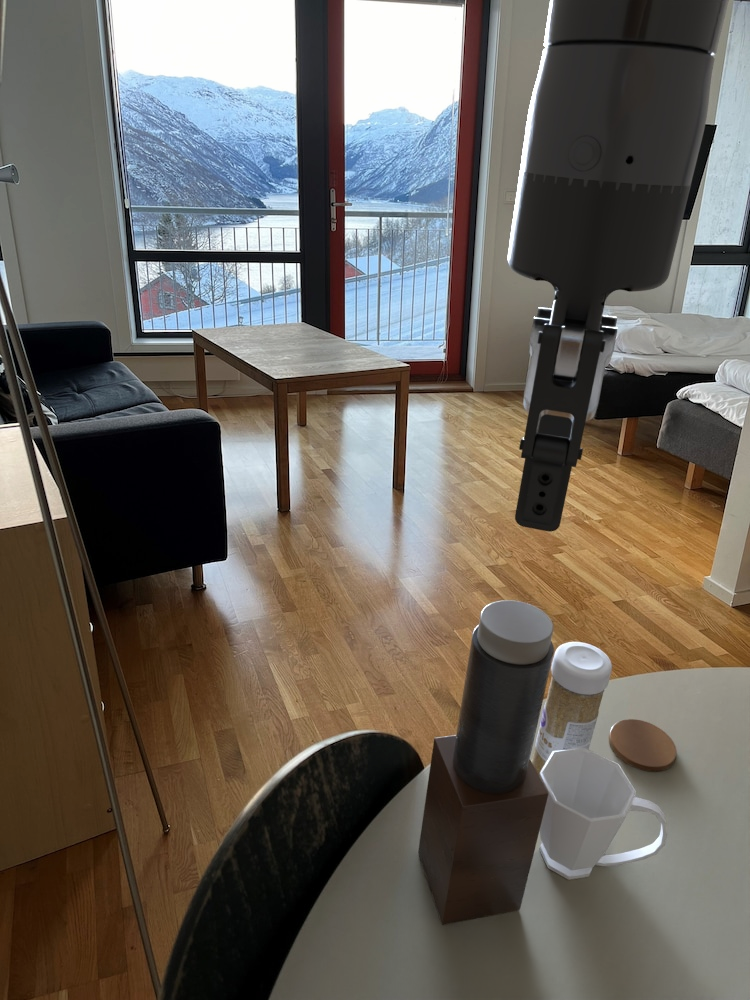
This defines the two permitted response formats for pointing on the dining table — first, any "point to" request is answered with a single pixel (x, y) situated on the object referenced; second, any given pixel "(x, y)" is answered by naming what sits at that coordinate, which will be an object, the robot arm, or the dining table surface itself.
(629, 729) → the coaster
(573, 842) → the cup
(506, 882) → the walnut stand
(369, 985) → the dining table surface
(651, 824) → the dining table surface
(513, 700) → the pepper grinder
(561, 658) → the sprinkles bottle
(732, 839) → the dining table surface
